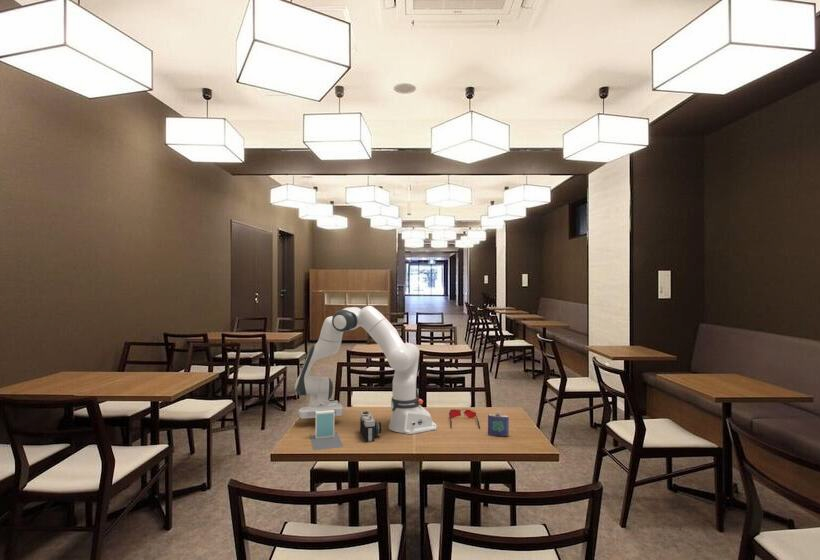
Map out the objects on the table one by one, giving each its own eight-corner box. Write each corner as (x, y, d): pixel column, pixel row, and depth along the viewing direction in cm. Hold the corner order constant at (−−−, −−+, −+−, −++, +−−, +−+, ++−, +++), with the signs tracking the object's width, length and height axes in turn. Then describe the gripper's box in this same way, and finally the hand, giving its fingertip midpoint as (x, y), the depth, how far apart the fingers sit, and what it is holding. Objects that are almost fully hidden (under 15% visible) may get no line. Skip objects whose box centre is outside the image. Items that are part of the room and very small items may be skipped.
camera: (382, 442, 185) (382, 418, 185) (361, 444, 184) (360, 420, 184) (380, 431, 199) (379, 409, 199) (360, 433, 197) (359, 411, 197)
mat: (337, 433, 196) (337, 432, 196) (343, 448, 178) (343, 447, 178) (310, 435, 192) (310, 434, 192) (313, 451, 175) (313, 450, 175)
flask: (508, 435, 195) (508, 411, 195) (508, 437, 192) (508, 413, 192) (487, 433, 197) (488, 410, 197) (487, 435, 194) (487, 411, 194)
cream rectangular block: (333, 434, 192) (333, 410, 192) (334, 436, 190) (334, 411, 190) (315, 436, 190) (315, 411, 190) (315, 438, 188) (315, 413, 188)
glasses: (476, 418, 220) (476, 409, 220) (480, 429, 203) (480, 419, 203) (448, 418, 220) (448, 408, 220) (450, 429, 204) (450, 418, 204)
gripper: (298, 403, 209) (299, 411, 196) (340, 400, 215) (344, 407, 202) (298, 416, 209) (299, 425, 196) (340, 412, 215) (344, 421, 202)
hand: (322, 416), depth 199 cm, fingers closed
